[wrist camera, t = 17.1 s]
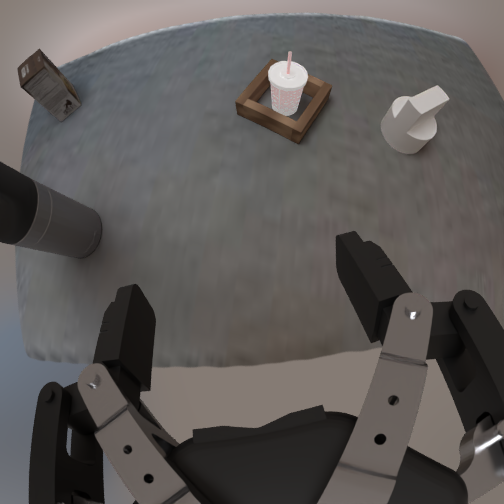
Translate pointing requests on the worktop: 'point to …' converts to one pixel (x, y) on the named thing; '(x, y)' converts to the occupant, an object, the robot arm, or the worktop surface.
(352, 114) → the worktop surface
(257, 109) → the walnut collar
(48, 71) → the coffee box
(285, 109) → the beverage cup
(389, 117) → the cylinder with rectangular tab
